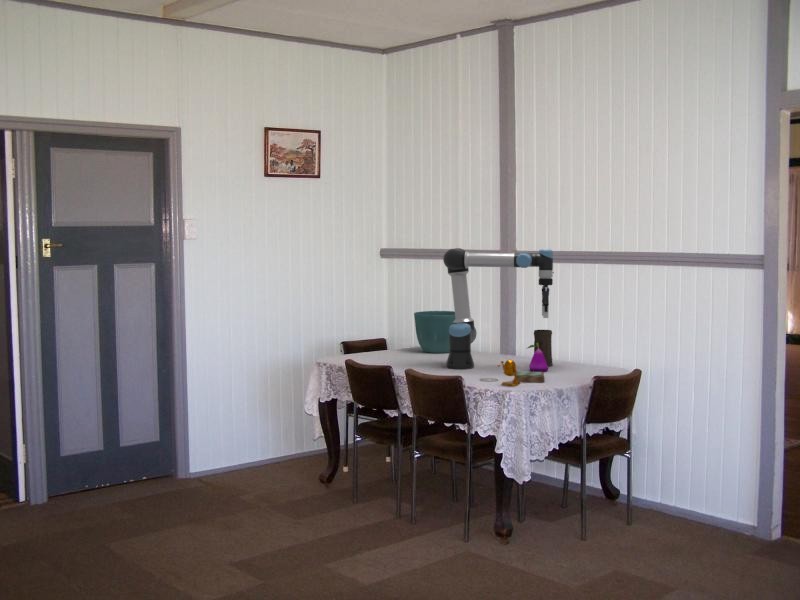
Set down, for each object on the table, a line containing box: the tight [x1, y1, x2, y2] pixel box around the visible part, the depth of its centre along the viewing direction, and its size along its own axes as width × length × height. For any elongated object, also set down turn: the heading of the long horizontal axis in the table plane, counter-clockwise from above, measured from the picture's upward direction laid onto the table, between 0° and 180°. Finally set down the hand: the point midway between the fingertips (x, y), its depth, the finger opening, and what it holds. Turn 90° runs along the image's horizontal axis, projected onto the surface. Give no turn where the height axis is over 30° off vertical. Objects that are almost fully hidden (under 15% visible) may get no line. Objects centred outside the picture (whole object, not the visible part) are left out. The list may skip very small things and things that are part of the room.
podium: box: [516, 371, 545, 384], centre depth 445 cm, size 14×14×3 cm
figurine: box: [497, 359, 521, 387], centre depth 432 cm, size 8×11×12 cm
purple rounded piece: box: [526, 343, 549, 372], centre depth 475 cm, size 11×11×15 cm
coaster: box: [479, 377, 499, 383], centre depth 445 cm, size 9×9×1 cm
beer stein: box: [533, 329, 554, 368], centre depth 496 cm, size 15×11×20 cm
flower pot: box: [413, 310, 455, 354], centre depth 558 cm, size 30×30×24 cm
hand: (545, 316), depth 490 cm, fingers open, 13 cm apart
